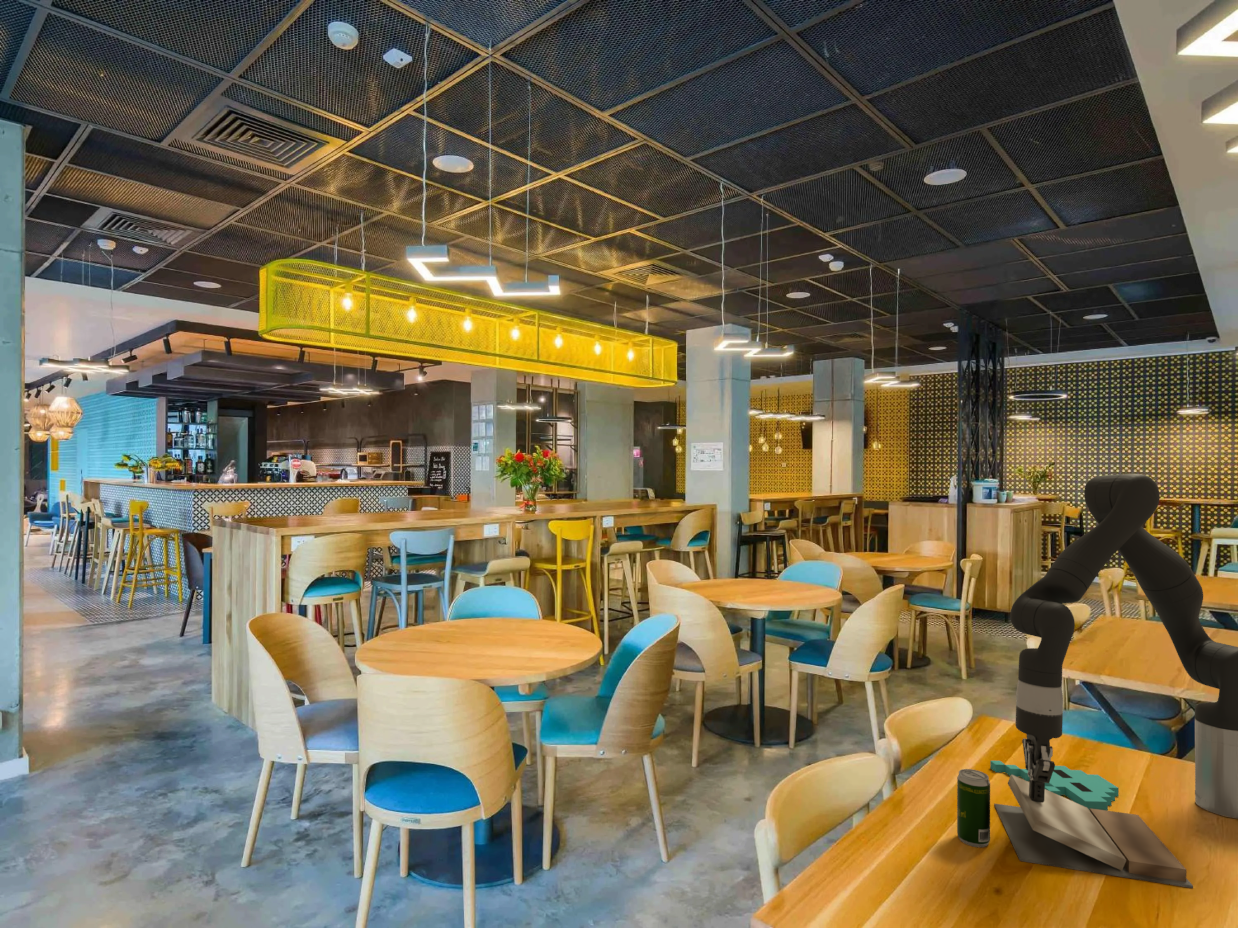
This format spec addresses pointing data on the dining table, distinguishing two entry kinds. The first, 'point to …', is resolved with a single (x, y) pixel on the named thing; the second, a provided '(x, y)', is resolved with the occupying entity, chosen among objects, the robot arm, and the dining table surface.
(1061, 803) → the beige flat slab
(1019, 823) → the floor base
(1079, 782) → the alien figure
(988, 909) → the dining table surface
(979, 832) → the beer can
